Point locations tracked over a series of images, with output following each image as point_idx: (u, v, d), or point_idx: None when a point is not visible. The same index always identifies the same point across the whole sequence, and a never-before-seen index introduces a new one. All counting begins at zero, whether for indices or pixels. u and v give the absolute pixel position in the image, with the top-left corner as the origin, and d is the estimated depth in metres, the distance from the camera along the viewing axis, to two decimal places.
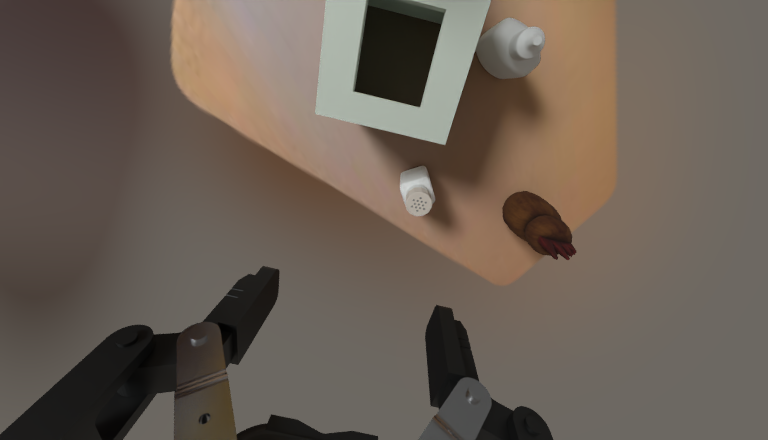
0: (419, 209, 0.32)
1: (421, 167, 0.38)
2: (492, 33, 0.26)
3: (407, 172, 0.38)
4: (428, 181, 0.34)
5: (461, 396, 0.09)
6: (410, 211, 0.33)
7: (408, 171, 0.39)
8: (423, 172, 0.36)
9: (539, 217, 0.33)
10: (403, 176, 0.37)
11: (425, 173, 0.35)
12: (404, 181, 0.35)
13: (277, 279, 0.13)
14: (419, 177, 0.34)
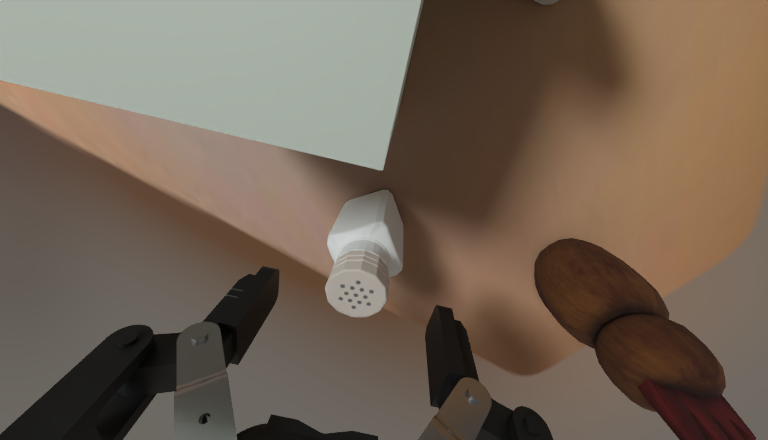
0: (358, 305, 0.14)
1: (380, 194, 0.20)
2: None
3: (353, 203, 0.20)
4: (385, 232, 0.16)
5: (461, 396, 0.09)
6: (338, 308, 0.14)
7: (356, 201, 0.20)
8: (379, 208, 0.17)
9: (636, 322, 0.14)
10: (343, 213, 0.19)
11: (382, 211, 0.17)
12: (337, 229, 0.17)
13: (277, 279, 0.13)
14: (367, 222, 0.16)
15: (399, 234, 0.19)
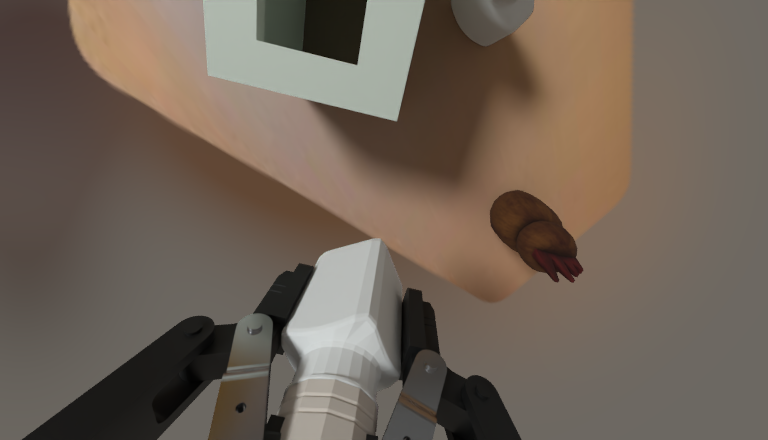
0: None
1: (369, 248, 0.14)
2: None
3: (330, 261, 0.14)
4: (372, 332, 0.10)
5: (420, 369, 0.10)
6: None
7: (334, 257, 0.14)
8: (364, 281, 0.11)
9: (534, 223, 0.25)
10: (312, 280, 0.13)
11: (369, 288, 0.11)
12: (297, 318, 0.11)
13: None
14: (343, 314, 0.10)
15: (396, 311, 0.13)
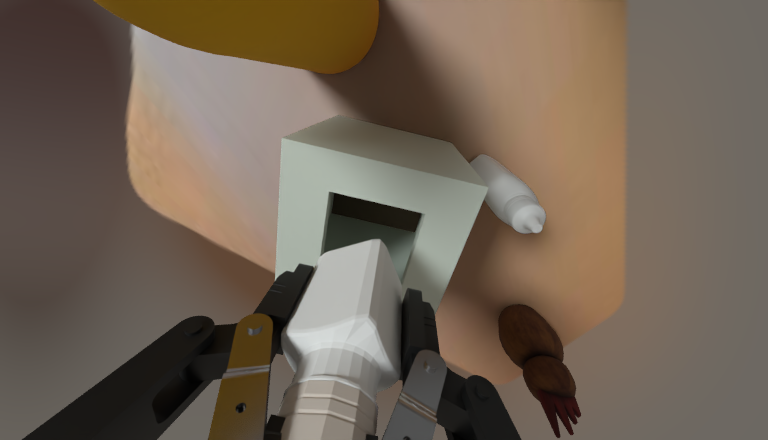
0: None
1: (368, 249, 0.14)
2: None
3: (330, 262, 0.14)
4: (372, 333, 0.10)
5: (420, 369, 0.10)
6: None
7: (334, 257, 0.14)
8: (364, 282, 0.11)
9: (539, 360, 0.29)
10: (312, 281, 0.13)
11: (368, 289, 0.11)
12: (296, 319, 0.10)
13: None
14: (342, 314, 0.10)
15: (396, 312, 0.13)
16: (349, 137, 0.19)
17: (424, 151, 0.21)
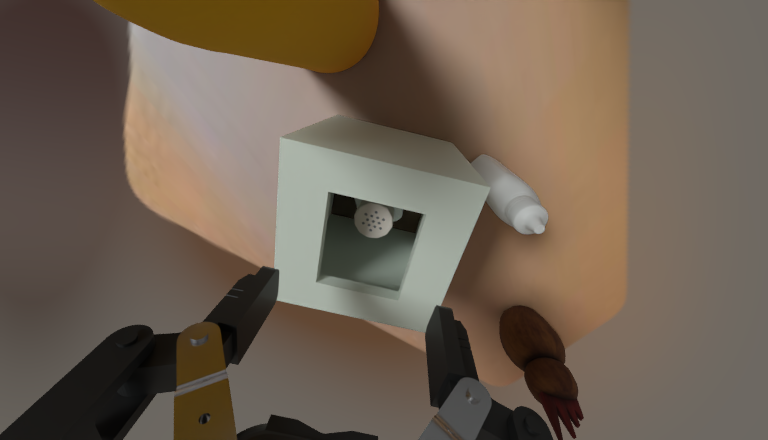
0: (373, 228, 0.22)
1: None
2: None
3: None
4: None
5: (461, 396, 0.09)
6: (360, 229, 0.22)
7: None
8: None
9: (540, 362, 0.29)
10: None
11: None
12: None
13: (277, 279, 0.13)
14: None
15: None
16: (349, 137, 0.19)
17: (425, 151, 0.20)
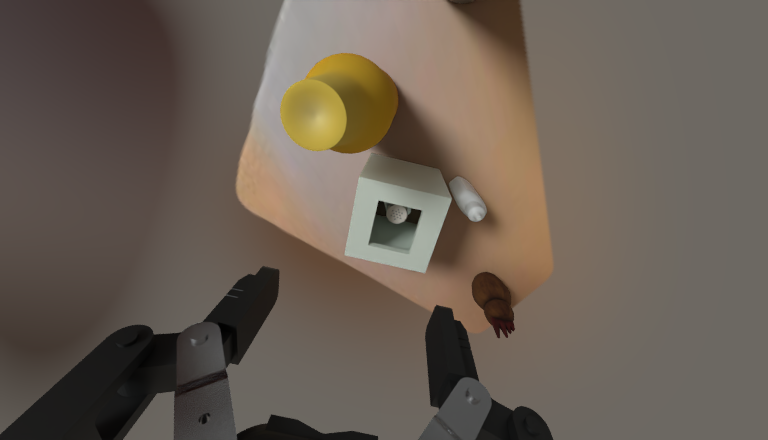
0: (396, 218, 0.41)
1: None
2: (455, 196, 0.41)
3: None
4: None
5: (461, 396, 0.09)
6: (389, 219, 0.41)
7: None
8: None
9: (493, 301, 0.47)
10: None
11: None
12: None
13: (277, 279, 0.13)
14: None
15: None
16: (385, 172, 0.38)
17: (423, 178, 0.39)
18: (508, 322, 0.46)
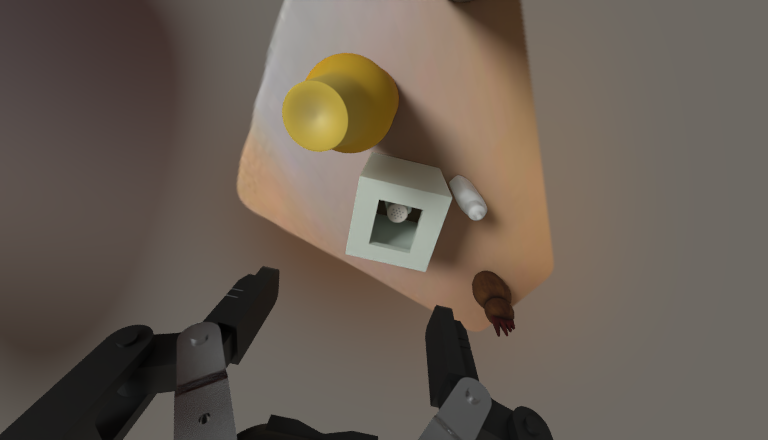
0: (397, 217, 0.41)
1: None
2: (456, 195, 0.41)
3: None
4: None
5: (461, 396, 0.09)
6: (390, 218, 0.41)
7: None
8: None
9: (493, 300, 0.48)
10: None
11: None
12: None
13: (277, 279, 0.13)
14: None
15: None
16: (385, 171, 0.38)
17: (423, 177, 0.39)
18: (508, 320, 0.46)
